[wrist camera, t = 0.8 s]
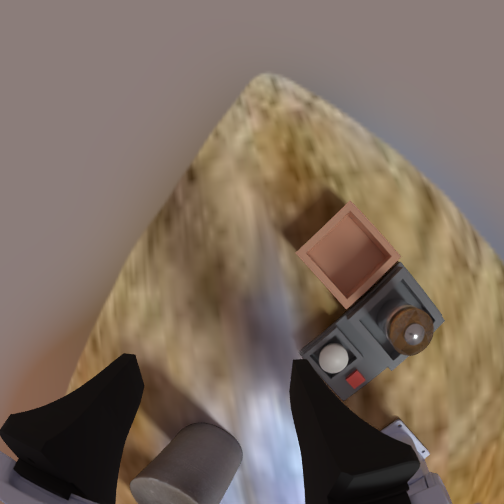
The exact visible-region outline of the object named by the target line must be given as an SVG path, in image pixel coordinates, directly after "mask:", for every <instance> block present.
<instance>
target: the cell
mask: <svg viewBox="0 0 504 504" xmlns="http://www.w3.org/2000/svg"><path fill="white" fill-rule="evenodd" d="M377 323H378V326H379V328H380V330H381V331H382V332H383V334H384V335H385V336H386V338H387V339H388V340H389V342H390V343H391V344H392V346H393V347H394V348H395V350H396V351H397V352H399V353H400V354H402V355H406V356H411V355H416V354H418V353H420V352H422V351H423V350H424V349H425V348H426V347H427V346H428V345H429V343H430V341H431V339H432V337H433V332H434V326H433V322H432V319H431V318H430V316H429V315H428V314H427V313H426V312H424V311H422V310H420V309H418V308H417V307H415V306H413V305H411V304H409V303H407V302H405V301H403V300H401V299H391V300H389V301H387V302H385V303H384V304H383V305H382V306H381V308H380V310H379V312H378V315H377Z"/></svg>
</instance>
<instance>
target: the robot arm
mask: <svg viewBox="0 0 504 504" xmlns="http://www.w3.org/2000/svg"><path fill="white" fill-rule="evenodd" d="M143 390H144V383H143V379H142V376H141V373H140V369H139V366H138V363H137V359H136V355H134V354H126V353H124V354H122V355H121V356H120V357H118V358H117V359H116V360H115V361H113V362H112V363H111V364H110V365H109V366H107V367H106V368H105V369H104V370H102V371H101V372H100V373H99V374H97V375H96V376H95V377H93V378H92V379H91V380H89V381H88V382H87V383H85V384H84V385H82V386H81V387H79V388H78V389H76V390H75V391H73V392H71V393H70V394H68V395H66V396H64V397H62V398H60V399H58V400H56V401H54V402H52V403H50V404H47V405H45V406H42V407H39V408H36V409H33V410H29V411H25V412H21V413H16V414H11V415H10V416H9V417H8V419H7V420H6V422H5V423H4V425H3V426H2V428H1V429H0V436H1V438H2V439H3V441H4V442H5V443H6V444H7V445H8V447H9V448H10V449H11V450H12V451H13V452H14V453H15V455H16V456H17V457H18V458H19V459H18V461H17V462H16V461H14V460H13V459H12V458H11V457H9V456H7V455H6V454H4V453H2V452H1V451H0V500H1V501H2V502H3V503H5V504H115V501H116V488H117V480H118V473H119V467H120V462H121V457H122V453H123V448H124V444H125V441H126V438H127V435H128V433H129V430H130V428H131V425H132V423H133V420H134V418H135V415H136V413H137V410H138V408H139V405H140V402H141V398H142V394H143ZM289 392H290V403H291V411H292V415H293V420H294V424H295V429H296V433H297V437H298V441H299V446H300V451H301V456H302V466H303V476H304V488H305V504H452V502H451V499H450V497H449V494H448V492H447V490H446V488H445V486H444V484H443V482H442V480H441V478H440V477H439V475H438V474H437V473H432V472H429V470H428V467H427V465H426V462H425V460H424V458H426V457H427V456H428V455H429V454H430V453H429V451H428V450H427V449H426V448H425V447H424V446H423V444H422V443H421V442H420V441H419V440H418V439H417V438H416V437H415V435H414V434H413V433H412V432H411V431H410V430H409V429H408V428H407V427H406V425H405V424H404V423H403V422H402V421H401V420H399V419H398V420H396V421H394V422H393V423H391V424H390V425H389V426H387V427H386V428H384V429H383V430H382V431H379V430H377V429H376V428H374V427H372V426H371V425H369V424H368V423H366V422H365V421H363V420H362V419H361V418H359V417H358V416H357V415H356V414H354V413H353V412H352V411H351V410H350V409H349V408H348V407H346V406H345V405H344V404H343V403H342V402H341V401H340V400H339V399H338V398H337V397H336V396H335V394H334V393H333V392H332V391H331V390H330V389H329V388H328V386H327V385H326V384H325V383H324V382H323V380H322V379H321V378H320V376H319V375H318V374H317V372H316V371H315V370H314V368H313V367H312V365H311V364H310V362H309V361H308V360H307V359H299V360H293V365H292V374H291V382H290V390H289ZM400 424H401V425H400ZM398 425H400V426H398ZM423 450H424V451H423Z"/></svg>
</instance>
